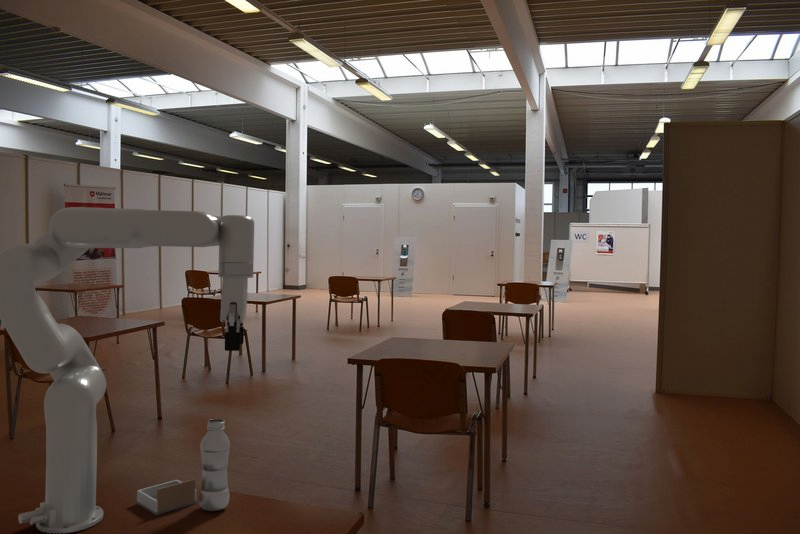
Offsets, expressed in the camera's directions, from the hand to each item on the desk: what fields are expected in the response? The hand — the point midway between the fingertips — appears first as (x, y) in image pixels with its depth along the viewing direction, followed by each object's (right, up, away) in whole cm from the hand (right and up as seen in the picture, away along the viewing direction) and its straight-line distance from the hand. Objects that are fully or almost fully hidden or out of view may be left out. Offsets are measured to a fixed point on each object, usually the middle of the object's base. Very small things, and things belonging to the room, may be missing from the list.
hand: (234, 347), depth 139 cm
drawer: (-16, -36, +4) cm, 40 cm away
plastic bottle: (-5, -37, +1) cm, 37 cm away
